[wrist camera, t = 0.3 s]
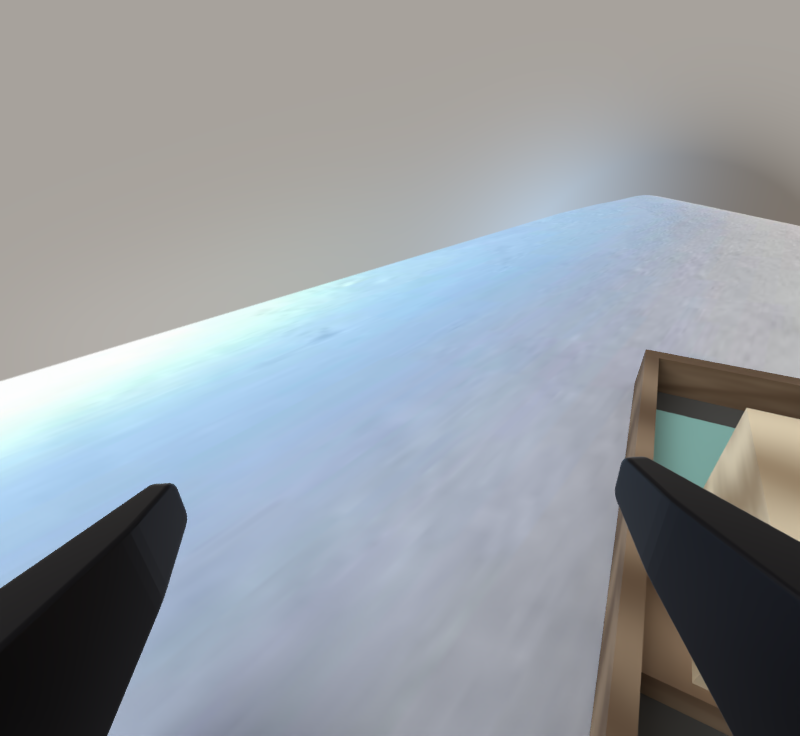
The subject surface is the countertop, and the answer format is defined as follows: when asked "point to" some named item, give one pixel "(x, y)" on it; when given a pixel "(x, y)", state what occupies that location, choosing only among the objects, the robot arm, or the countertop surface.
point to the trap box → (629, 582)
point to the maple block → (760, 475)
